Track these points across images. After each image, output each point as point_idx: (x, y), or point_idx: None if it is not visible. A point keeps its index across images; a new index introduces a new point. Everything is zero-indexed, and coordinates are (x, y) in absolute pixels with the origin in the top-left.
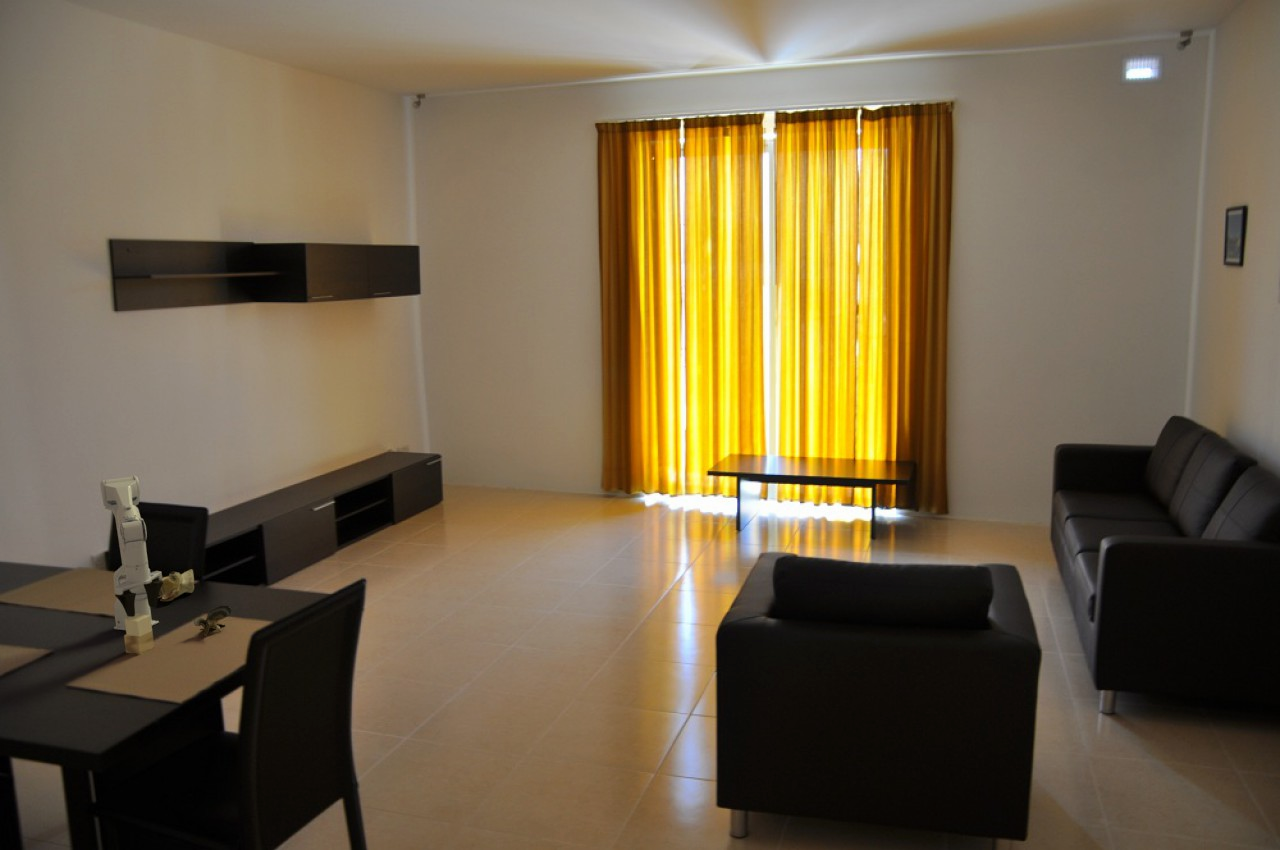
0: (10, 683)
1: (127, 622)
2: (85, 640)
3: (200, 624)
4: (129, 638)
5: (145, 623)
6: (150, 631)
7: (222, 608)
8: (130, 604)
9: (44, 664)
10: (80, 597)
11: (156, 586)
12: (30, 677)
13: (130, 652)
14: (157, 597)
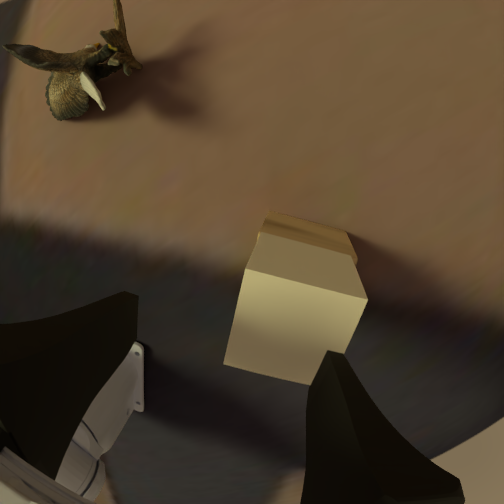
0: (476, 434)
1: None
2: (225, 440)
3: (119, 61)
4: None
5: (300, 265)
6: (274, 235)
7: (16, 50)
8: (391, 427)
9: None
10: None
11: (14, 368)
12: (460, 425)
13: None
14: (80, 311)
